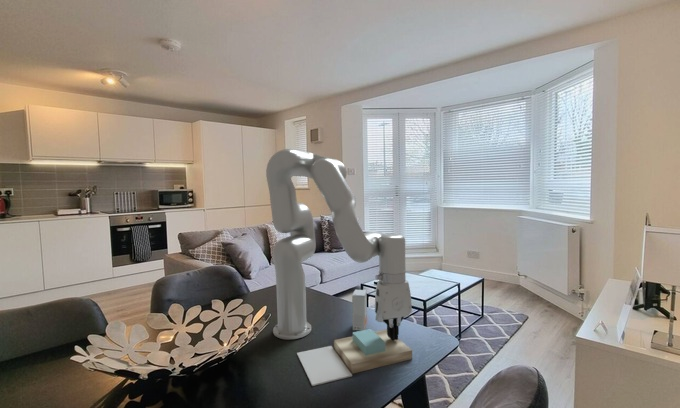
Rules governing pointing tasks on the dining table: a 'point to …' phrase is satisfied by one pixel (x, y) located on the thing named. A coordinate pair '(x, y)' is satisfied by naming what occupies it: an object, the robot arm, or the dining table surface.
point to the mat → (323, 365)
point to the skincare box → (359, 310)
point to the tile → (368, 341)
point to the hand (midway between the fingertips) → (392, 338)
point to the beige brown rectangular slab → (362, 362)
